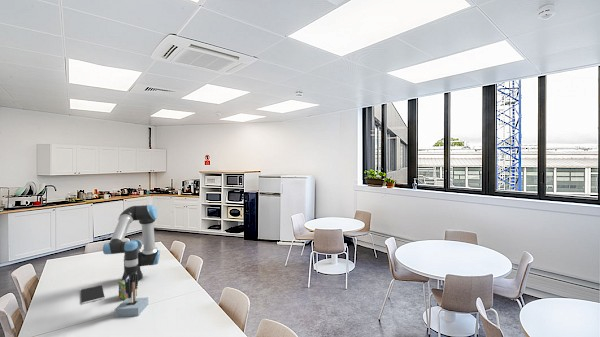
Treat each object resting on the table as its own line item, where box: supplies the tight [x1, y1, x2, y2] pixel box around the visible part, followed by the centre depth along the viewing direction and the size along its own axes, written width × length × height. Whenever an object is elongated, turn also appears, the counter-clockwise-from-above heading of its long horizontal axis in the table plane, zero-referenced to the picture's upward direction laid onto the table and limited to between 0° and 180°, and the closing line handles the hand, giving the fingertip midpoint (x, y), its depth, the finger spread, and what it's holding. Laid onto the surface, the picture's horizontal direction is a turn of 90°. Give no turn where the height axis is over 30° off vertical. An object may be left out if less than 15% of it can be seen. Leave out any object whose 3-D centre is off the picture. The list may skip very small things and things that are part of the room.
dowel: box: [129, 282, 135, 305], centre depth 184 cm, size 4×4×16 cm
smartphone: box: [80, 284, 106, 305], centre depth 208 cm, size 13×27×2 cm, turn 39°
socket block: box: [114, 297, 149, 318], centre depth 184 cm, size 14×14×5 cm
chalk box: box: [118, 279, 138, 302], centre depth 204 cm, size 9×9×15 cm
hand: (132, 300), depth 184 cm, fingers closed on dowel, 3 cm apart
